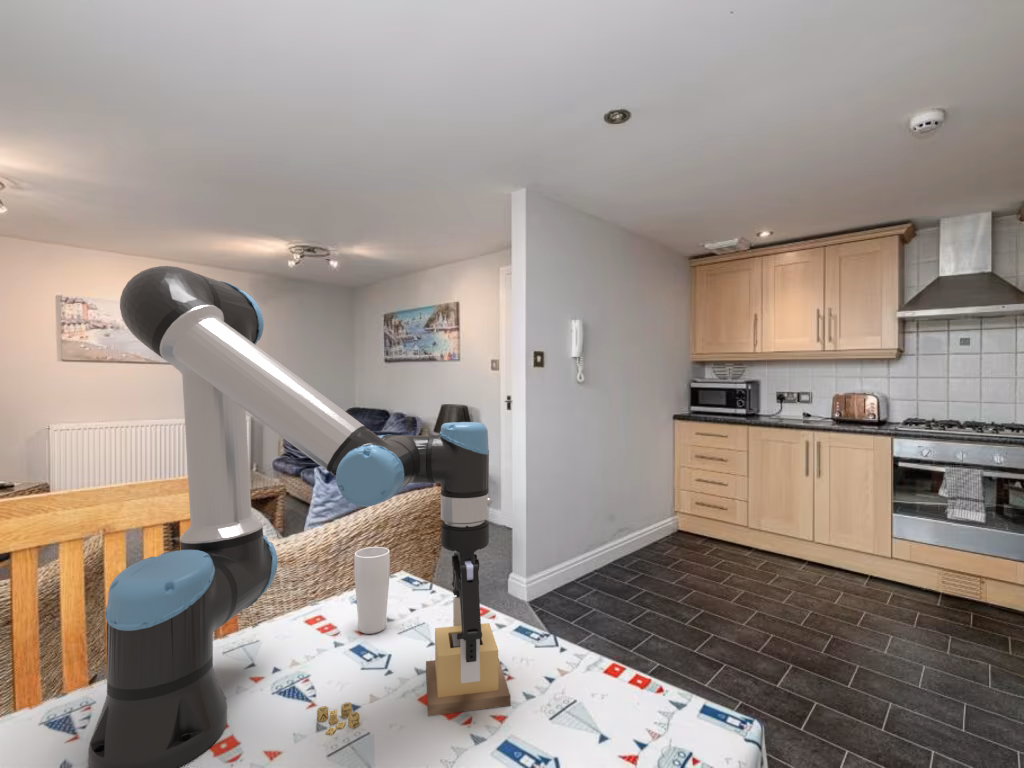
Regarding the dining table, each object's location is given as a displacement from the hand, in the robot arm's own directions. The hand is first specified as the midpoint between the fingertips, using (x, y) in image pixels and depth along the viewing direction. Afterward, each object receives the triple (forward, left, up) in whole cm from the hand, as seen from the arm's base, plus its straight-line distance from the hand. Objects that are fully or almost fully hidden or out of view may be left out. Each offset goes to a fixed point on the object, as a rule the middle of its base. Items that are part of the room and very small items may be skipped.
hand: (465, 656), depth 79 cm
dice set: (-18, -5, -6) cm, 20 cm away
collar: (0, 0, -3) cm, 3 cm away
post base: (0, 0, -5) cm, 5 cm away
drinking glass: (-16, +23, -5) cm, 28 cm away
